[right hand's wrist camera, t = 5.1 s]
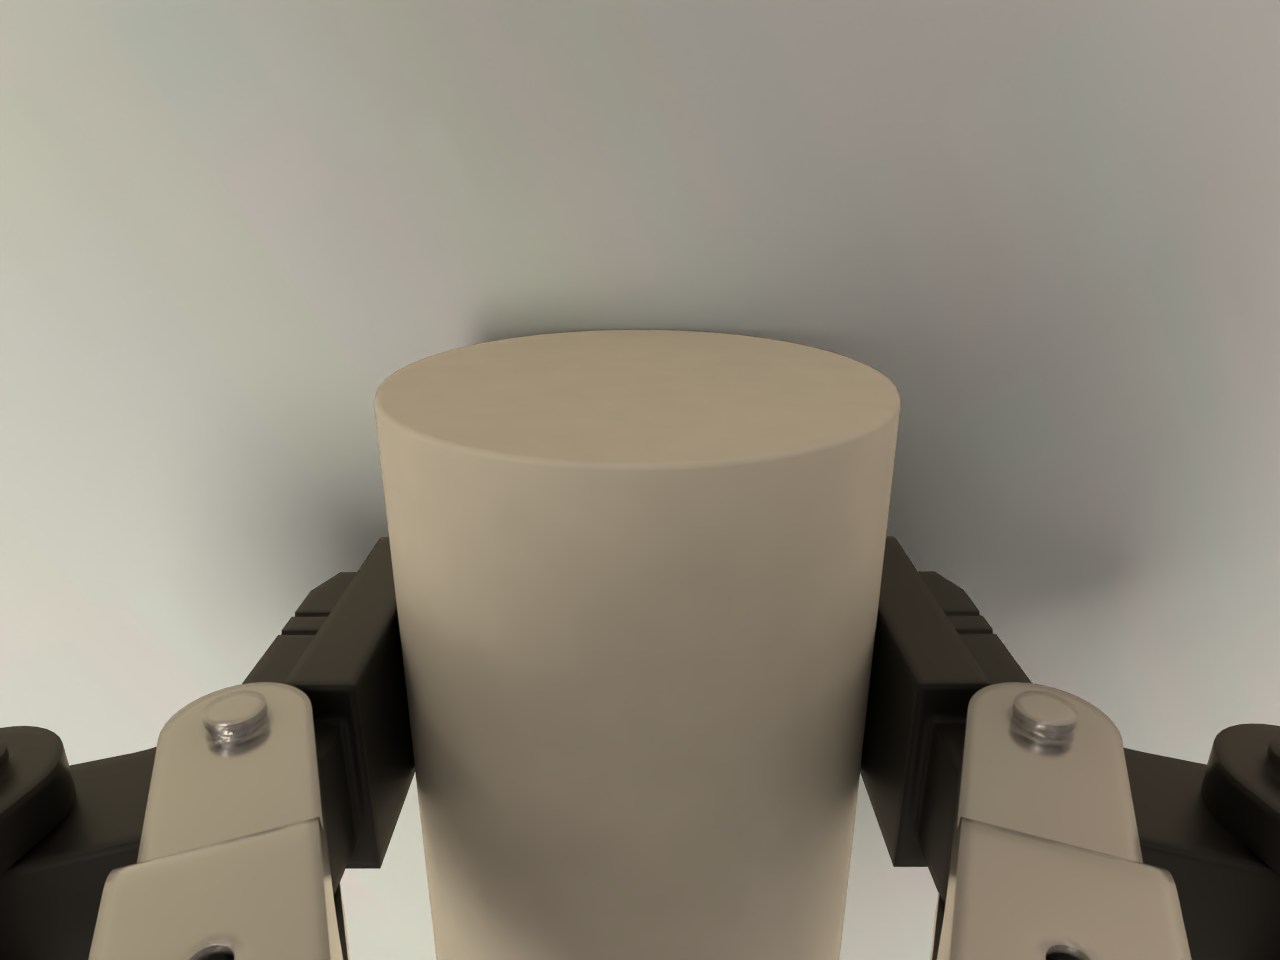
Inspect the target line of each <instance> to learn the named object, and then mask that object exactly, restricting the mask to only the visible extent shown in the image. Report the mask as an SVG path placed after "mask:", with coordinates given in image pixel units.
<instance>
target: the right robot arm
mask: <svg viewBox="0 0 1280 960" xmlns="http://www.w3.org/2000/svg"><path fill="white" fill-rule="evenodd" d="M992 630H993V629H992V628H991V627H990V625H989V624H988V623H987V621H986V620H985V618H984V617H983V616H980V615H979V610H978V609H977V608H976V606H975V605H974V603H973V602H972V601H971V599H970V598H969V597H968V595H967V594H966V593H965V591H964V590H963V589H961V588H960V587H958V586H956V585H955V584H953V583H952V582H950V581H949V580H947V579H945V578H944V577H942V576H941V575H939V574H938V573H936V572H917V570H916V569H915V567H914V565H913V564H912V562H911V561H910V559H909V558H908V556H907V555H906V553H905V552H904V550H903V549H902V547H901V546H900V544H899V543H898V541H897V540H896V538H895V537H886V541H885V550H884V559H883V568H882V577H881V587H880V596H879V605H878V614H877V623H876V632H875V641H874V650H873V659H872V668H871V677H870V686H869V695H868V704H867V713H866V722H865V731H864V740H863V749H862V758H861V767H860V772H861V775H862V778H863V781H864V784H865V787H866V789H867V792H868V795H869V798H870V801H871V804H872V806H873V809H874V812H875V815H876V818H877V821H878V823H879V826H880V829H881V832H882V835H883V838H884V840H885V843H886V846H887V849H888V852H889V855H890V857H891V860H892V863H893V866H894V867H928V868H929V870H930V873H931V875H932V878H933V880H934V883H935V885H936V888H937V890H938V892H939V894H938V900H937V906H936V912H935V921H934V930H933V939H932V948H931V957H930V960H1280V726H1275V725H1267V724H1240V725H1235V726H1231V727H1228V728H1226V729H1224V730H1222V731H1221V732H1220V733H1219V734H1218V735H1217V736H1216V738H1215V740H1214V743H1213V746H1212V750H1211V754H1210V757H1209V761H1208V764H1207V765H1205V764H1200V763H1195V762H1190V761H1185V760H1180V759H1175V758H1170V757H1165V756H1160V755H1154V754H1149V753H1144V752H1140V751H1135V750H1131V749H1127V748H1123V743H1122V738H1121V735H1120V732H1119V730H1118V729H1117V727H1116V726H1115V724H1114V723H1113V722H1112V721H1111V720H1110V718H1109V717H1108V716H1107V715H1105V714H1104V713H1103V712H1102V711H1101V710H1099V709H1098V708H1096V707H1095V706H1093V705H1092V704H1090V703H1089V702H1087V701H1085V700H1083V699H1081V698H1079V697H1077V696H1075V695H1072V694H1070V693H1067V692H1065V691H1062V690H1059V689H1056V688H1052V687H1048V686H1044V685H1039V684H1032V683H1031V681H1030V680H1029V678H1028V677H1027V676H1026V674H1025V673H1024V672H1023V670H1022V669H1021V668H1020V666H1019V665H1018V663H1017V662H1016V661H1015V659H1014V658H1013V657H1012V655H1011V654H1010V653H1009V651H1008V650H1007V648H1006V647H1005V646H1004V644H1003V643H1002V642H1001V640H1000V639H999V638H998V636H997V635H996V634H993V632H992ZM414 773H415V763H414V754H413V745H412V737H411V728H410V719H409V710H408V701H407V692H406V683H405V674H404V665H403V657H402V648H401V639H400V630H399V621H398V612H397V603H396V594H395V585H394V577H393V568H392V559H391V550H390V541H389V537H382V538H380V539H379V541H378V542H377V544H376V545H375V547H374V548H373V550H372V551H371V553H370V554H369V556H368V557H367V559H366V560H365V562H364V563H363V565H362V566H361V568H360V569H359V571H358V572H340V573H339V574H337V575H336V576H334V577H332V578H331V579H329V580H328V581H326V582H325V583H323V584H321V585H320V586H318V587H317V588H315V589H313V590H312V591H311V592H310V593H309V594H308V596H307V597H306V599H305V600H304V601H303V603H302V604H301V605H300V607H299V608H298V609H297V611H296V612H295V617H291V619H290V620H289V621H288V623H287V624H286V625H285V627H284V628H283V629H282V635H278V636H277V638H276V639H275V640H274V642H273V643H272V644H271V646H270V647H269V648H268V650H267V651H266V652H265V654H264V655H263V656H262V658H261V659H260V660H259V662H258V663H257V664H256V666H255V667H254V668H253V670H252V671H251V673H250V674H249V675H248V677H247V678H246V679H245V681H244V682H243V683H242V684H241V685H236V686H232V687H228V688H224V689H221V690H218V691H215V692H213V693H210V694H208V695H205V696H203V697H201V698H199V699H197V700H195V701H193V702H191V703H190V704H188V705H187V706H185V707H184V708H182V709H181V710H179V711H178V712H177V713H176V714H175V715H173V716H172V717H171V718H170V720H169V721H168V722H167V723H166V724H165V726H164V727H163V729H162V730H161V732H160V735H159V738H158V743H157V747H154V748H151V749H148V750H144V751H140V752H136V753H131V754H126V755H121V756H116V757H111V758H106V759H101V760H96V761H91V762H86V763H81V764H76V765H71V766H69V764H68V760H67V757H66V753H65V750H64V746H63V743H62V741H61V739H60V737H59V736H58V735H56V734H55V733H54V732H52V731H50V730H47V729H44V728H40V727H32V726H13V727H5V728H0V960H350V957H349V948H348V939H347V930H346V921H345V912H344V906H343V900H342V893H341V887H340V881H341V878H342V876H343V873H344V871H345V868H381V865H382V862H383V859H384V856H385V854H386V851H387V848H388V845H389V843H390V840H391V837H392V834H393V831H394V829H395V826H396V823H397V820H398V818H399V815H400V812H401V809H402V806H403V804H404V801H405V798H406V795H407V793H408V790H409V787H410V784H411V781H412V779H413V776H414Z"/></svg>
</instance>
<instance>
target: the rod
mask: <svg viewBox="0 0 1280 960" xmlns="http://www.w3.org/2000/svg"><path fill="white" fill-rule="evenodd" d="M900 406H901V400H900V397H899V393H898V390H897V388H896V387H895V385H894V384H893V383H892V382H891V380H890V379H888V378H887V377H886V376H884V375H883V374H882V373H880V372H879V371H877V370H875V369H873V368H871V367H869V366H867V365H865V364H863V363H860V362H858V361H855V360H853V359H850V358H848V357H845V356H842V355H839V354H836V353H833V352H829V351H826V350H822V349H818V348H814V347H810V346H805V345H800V344H795V343H790V342H785V341H779V340H773V339H766V338H759V337H751V336H743V335H734V334H724V333H712V332H697V331H677V330H599V331H579V332H563V333H552V334H541V335H532V336H524V337H516V338H509V339H503V340H497V341H490V342H485V343H480V344H475V345H470V346H466V347H462V348H458V349H454V350H450V351H446V352H443V353H440V354H436V355H433V356H430V357H427V358H425V359H422V360H420V361H417V362H415V363H412V364H410V365H408V366H406V367H404V368H402V369H400V370H398V371H396V372H395V373H393V374H392V375H391V376H389V377H388V378H387V379H385V380H384V382H383V383H382V384H381V385H380V386H379V387H378V390H377V393H376V396H375V399H374V408H375V417H376V425H377V434H378V443H379V452H380V461H381V470H382V479H383V488H384V497H385V505H386V514H387V523H388V532H389V541H390V550H391V559H392V568H393V577H394V585H395V594H396V603H397V612H398V621H399V630H400V639H401V648H402V657H403V665H404V674H405V683H406V692H407V701H408V710H409V719H410V728H411V737H412V745H413V754H414V763H415V772H416V781H417V790H418V799H419V808H420V817H421V825H422V834H423V843H424V852H425V861H426V870H427V879H428V888H429V897H430V905H431V914H432V923H433V932H434V941H435V950H436V959H437V960H839V957H840V948H841V939H842V930H843V921H844V912H845V903H846V894H847V885H848V876H849V867H850V858H851V849H852V840H853V831H854V822H855V813H856V803H857V794H858V785H859V776H860V767H861V758H862V749H863V740H864V731H865V722H866V713H867V704H868V695H869V686H870V677H871V668H872V659H873V650H874V641H875V632H876V623H877V614H878V605H879V596H880V587H881V577H882V568H883V559H884V550H885V541H886V532H887V523H888V514H889V505H890V496H891V487H892V478H893V469H894V460H895V451H896V442H897V433H898V424H899V415H900Z"/></svg>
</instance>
